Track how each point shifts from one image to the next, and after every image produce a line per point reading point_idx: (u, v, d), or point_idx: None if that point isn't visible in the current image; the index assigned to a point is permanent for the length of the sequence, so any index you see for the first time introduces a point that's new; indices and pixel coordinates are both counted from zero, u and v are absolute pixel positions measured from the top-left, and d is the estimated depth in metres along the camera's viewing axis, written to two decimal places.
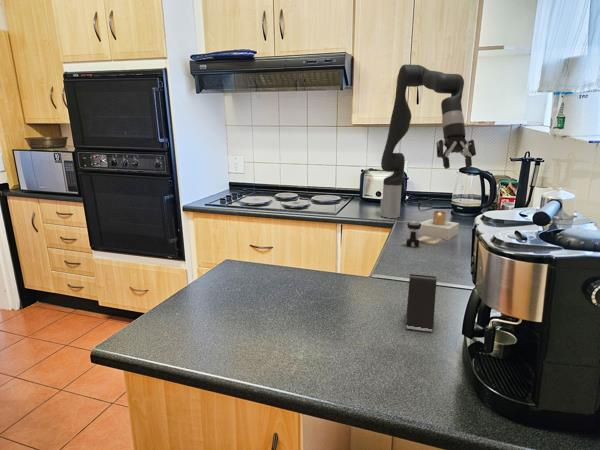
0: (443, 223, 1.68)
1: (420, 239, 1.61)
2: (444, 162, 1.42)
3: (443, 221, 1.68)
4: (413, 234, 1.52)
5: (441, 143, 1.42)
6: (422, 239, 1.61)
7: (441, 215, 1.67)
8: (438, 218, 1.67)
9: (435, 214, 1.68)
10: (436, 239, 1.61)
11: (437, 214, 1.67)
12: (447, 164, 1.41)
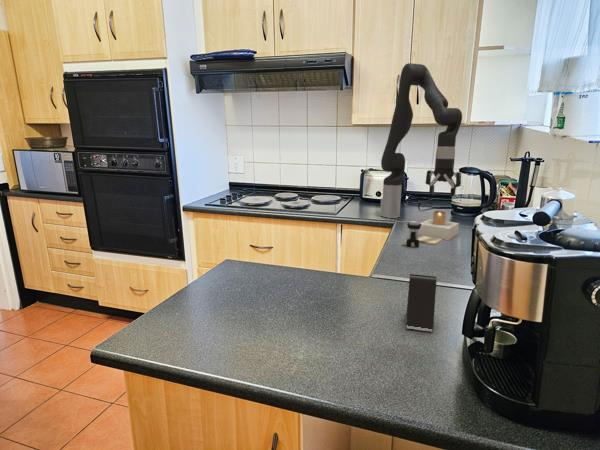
0: (443, 223, 1.68)
1: (420, 239, 1.61)
2: None
3: (443, 221, 1.68)
4: (413, 234, 1.52)
5: (428, 173, 1.68)
6: (422, 239, 1.61)
7: (441, 215, 1.67)
8: (438, 218, 1.67)
9: (435, 214, 1.68)
10: (436, 239, 1.61)
11: (437, 214, 1.67)
12: (430, 192, 1.69)
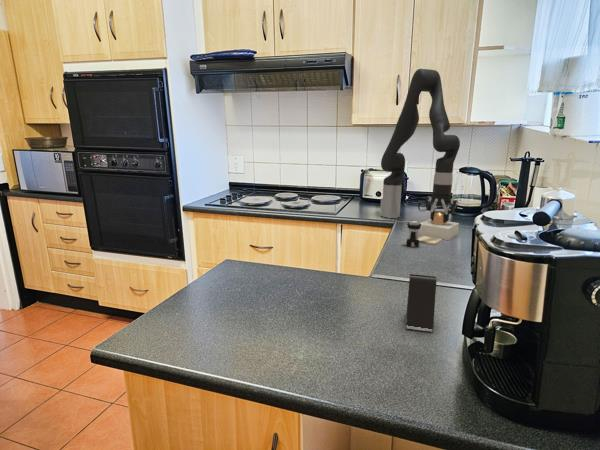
0: (443, 223, 1.68)
1: (420, 239, 1.61)
2: None
3: (443, 221, 1.68)
4: (413, 234, 1.52)
5: (426, 200, 1.70)
6: (422, 239, 1.61)
7: (441, 215, 1.67)
8: (438, 218, 1.67)
9: (435, 214, 1.68)
10: (436, 239, 1.61)
11: (437, 214, 1.67)
12: (431, 218, 1.71)
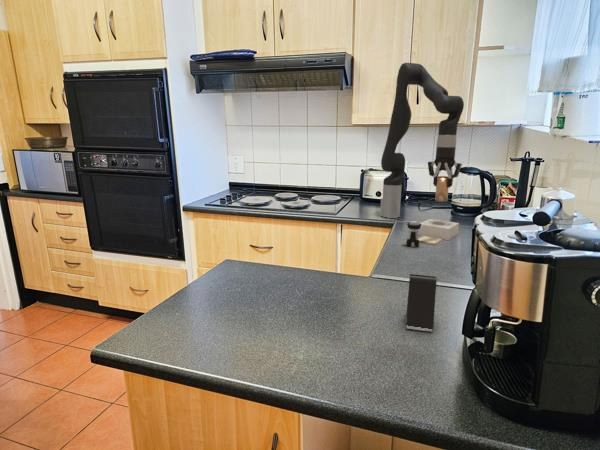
0: (446, 188, 1.64)
1: (420, 239, 1.61)
2: None
3: (446, 186, 1.63)
4: (413, 234, 1.52)
5: (429, 165, 1.66)
6: (422, 239, 1.61)
7: (444, 180, 1.62)
8: (441, 183, 1.63)
9: (438, 179, 1.64)
10: (436, 239, 1.61)
11: (440, 179, 1.63)
12: (434, 183, 1.67)
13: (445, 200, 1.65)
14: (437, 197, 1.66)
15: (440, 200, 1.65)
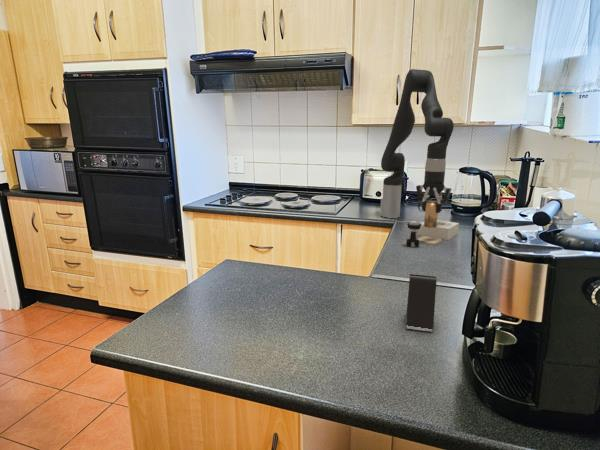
0: (435, 214, 1.56)
1: (420, 239, 1.61)
2: None
3: (435, 211, 1.56)
4: (413, 234, 1.52)
5: (417, 189, 1.58)
6: (422, 239, 1.61)
7: (433, 205, 1.55)
8: (430, 208, 1.55)
9: (426, 205, 1.56)
10: (436, 239, 1.61)
11: (429, 204, 1.55)
12: (423, 208, 1.59)
13: (434, 226, 1.57)
14: (426, 223, 1.58)
15: (429, 226, 1.57)
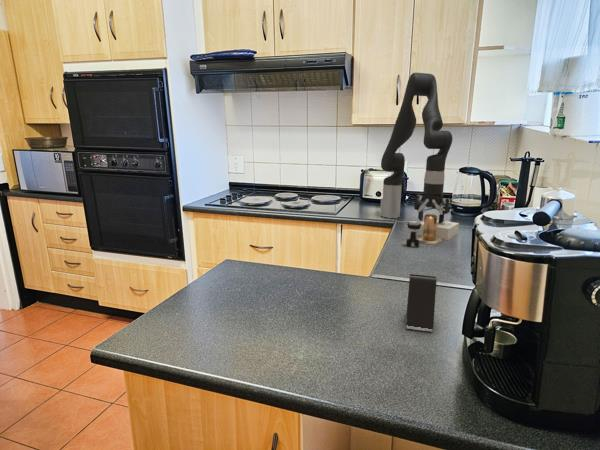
0: (434, 227, 1.57)
1: (420, 239, 1.61)
2: None
3: (434, 225, 1.57)
4: (413, 234, 1.52)
5: (416, 198, 1.60)
6: (422, 239, 1.61)
7: (432, 219, 1.56)
8: (429, 222, 1.57)
9: (425, 218, 1.58)
10: (436, 239, 1.61)
11: (428, 218, 1.57)
12: (419, 217, 1.61)
13: (433, 239, 1.58)
14: (425, 236, 1.59)
15: (428, 239, 1.59)
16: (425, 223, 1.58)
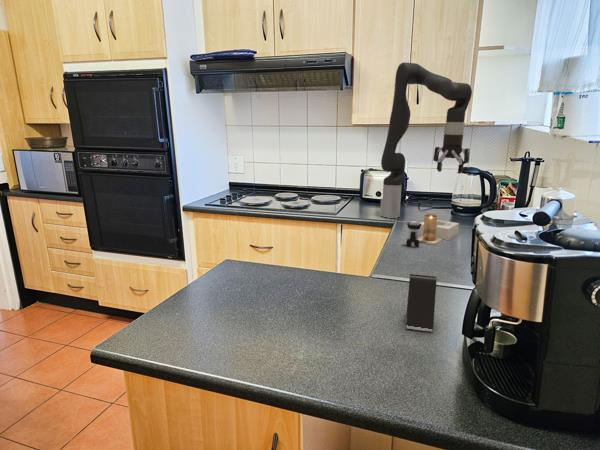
0: (434, 227, 1.57)
1: (420, 239, 1.61)
2: None
3: (434, 225, 1.57)
4: (413, 234, 1.52)
5: (436, 150, 1.67)
6: (422, 239, 1.61)
7: (432, 219, 1.56)
8: (429, 222, 1.57)
9: (425, 218, 1.58)
10: (436, 239, 1.61)
11: (428, 217, 1.57)
12: (438, 168, 1.68)
13: (433, 239, 1.58)
14: (425, 236, 1.59)
15: (428, 239, 1.59)
16: (425, 223, 1.58)
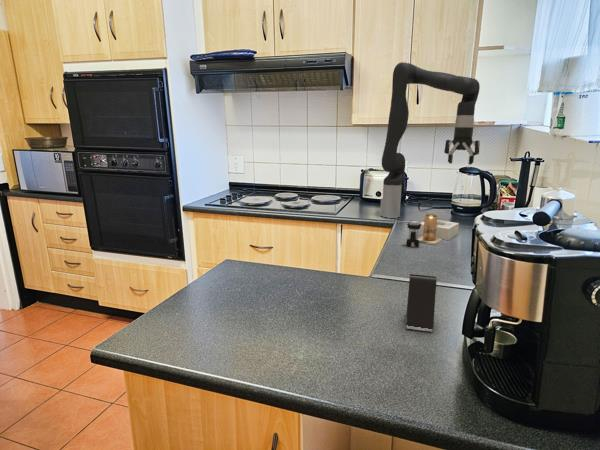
0: (435, 227, 1.57)
1: (420, 239, 1.61)
2: None
3: (435, 225, 1.57)
4: (413, 234, 1.52)
5: (447, 143, 1.74)
6: (422, 239, 1.61)
7: (432, 218, 1.56)
8: (429, 222, 1.57)
9: (426, 218, 1.58)
10: (436, 239, 1.61)
11: (428, 217, 1.57)
12: (449, 160, 1.75)
13: (433, 239, 1.58)
14: (425, 236, 1.59)
15: (428, 239, 1.59)
16: (425, 223, 1.58)
